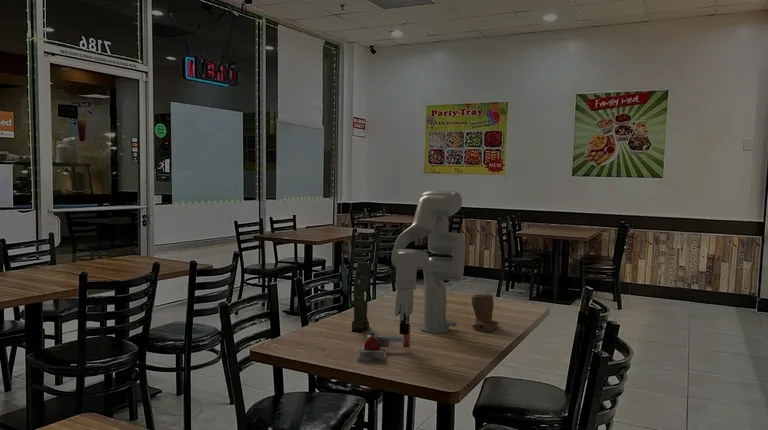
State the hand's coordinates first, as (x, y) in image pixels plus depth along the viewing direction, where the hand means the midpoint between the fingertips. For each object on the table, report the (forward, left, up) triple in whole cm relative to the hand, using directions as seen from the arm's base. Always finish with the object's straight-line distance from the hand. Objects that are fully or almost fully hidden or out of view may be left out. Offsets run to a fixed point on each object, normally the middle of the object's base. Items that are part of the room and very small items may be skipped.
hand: (404, 333), depth 211 cm
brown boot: (-37, -39, -8) cm, 55 cm away
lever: (+6, -4, -6) cm, 9 cm away
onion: (+12, +4, -8) cm, 15 cm away
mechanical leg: (+17, -35, -8) cm, 40 cm away
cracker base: (+12, +1, -8) cm, 14 cm away
